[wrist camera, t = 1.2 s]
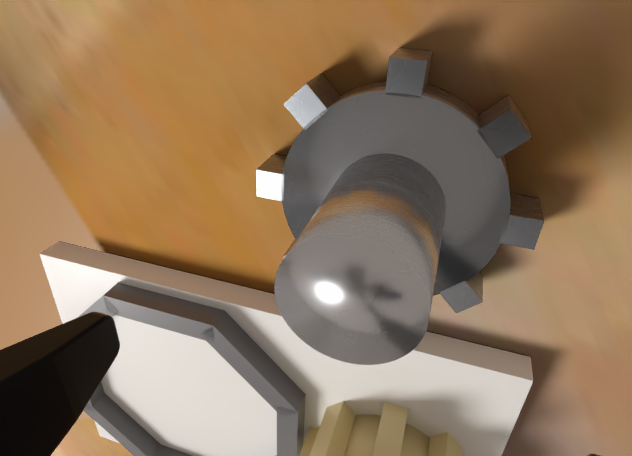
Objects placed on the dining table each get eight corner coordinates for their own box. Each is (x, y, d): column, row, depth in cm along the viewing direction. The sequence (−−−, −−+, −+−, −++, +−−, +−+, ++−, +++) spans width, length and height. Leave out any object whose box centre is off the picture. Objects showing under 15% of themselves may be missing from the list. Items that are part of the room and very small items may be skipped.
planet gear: (583, 66, 12) (657, 148, 7) (499, 317, 17) (505, 482, 12) (272, 35, 14) (147, 80, 9) (273, 266, 19) (192, 385, 14)
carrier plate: (530, 357, 17) (541, 455, 14) (456, 540, 25) (451, 635, 21) (59, 241, 23) (-18, 291, 19) (112, 420, 30) (63, 480, 26)
